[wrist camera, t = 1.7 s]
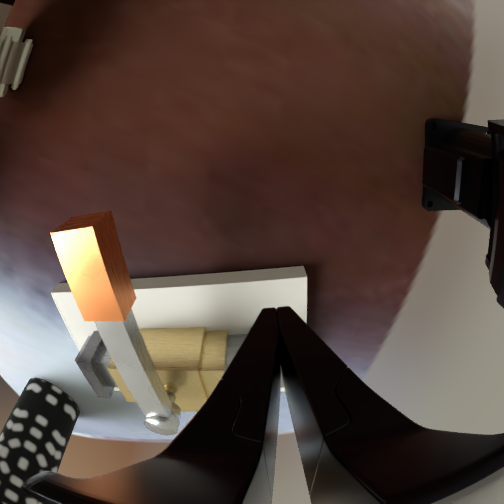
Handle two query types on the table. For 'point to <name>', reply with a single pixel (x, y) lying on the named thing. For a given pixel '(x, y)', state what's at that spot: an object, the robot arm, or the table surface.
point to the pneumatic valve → (12, 51)
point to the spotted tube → (34, 438)
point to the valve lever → (113, 310)
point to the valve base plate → (200, 301)
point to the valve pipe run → (167, 363)
